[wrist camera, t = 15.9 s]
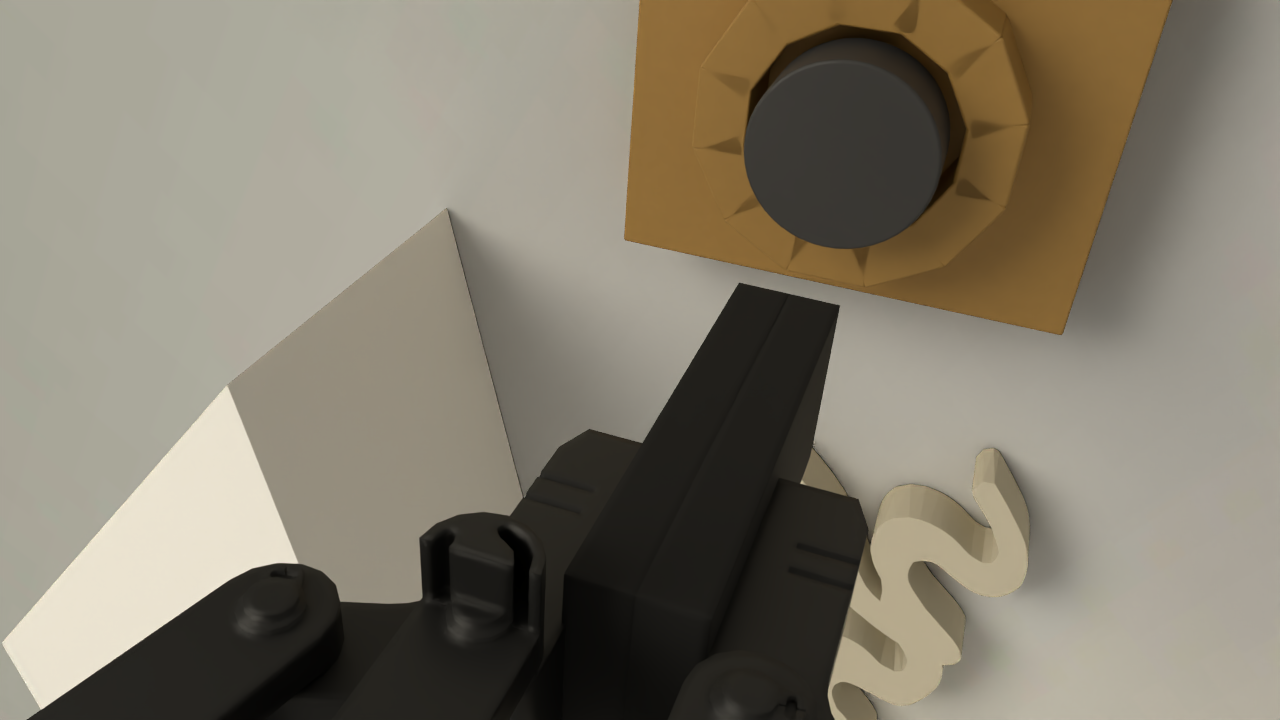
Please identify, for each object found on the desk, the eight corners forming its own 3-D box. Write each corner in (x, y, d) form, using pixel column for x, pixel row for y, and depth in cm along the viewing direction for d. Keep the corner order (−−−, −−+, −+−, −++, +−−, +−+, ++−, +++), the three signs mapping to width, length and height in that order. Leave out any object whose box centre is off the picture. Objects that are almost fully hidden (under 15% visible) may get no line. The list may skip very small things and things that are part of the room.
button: (970, 53, 21) (963, 78, 20) (928, 234, 24) (918, 268, 22) (775, 22, 22) (755, 43, 21) (751, 198, 25) (732, 228, 23)
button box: (1185, -86, 22) (1204, -49, 19) (1063, 294, 27) (1061, 375, 24) (678, -148, 25) (619, -126, 22) (650, 208, 30) (598, 270, 26)
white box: (667, 306, 31) (520, 524, 23) (481, 822, 48) (358, 1055, 40) (236, 114, 33) (-46, 254, 24) (203, 678, 50) (29, 873, 41)
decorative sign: (755, 914, 42) (530, 788, 43) (764, 878, 43) (546, 756, 44) (1099, 538, 28) (761, 363, 29) (1098, 502, 30) (774, 335, 30)
